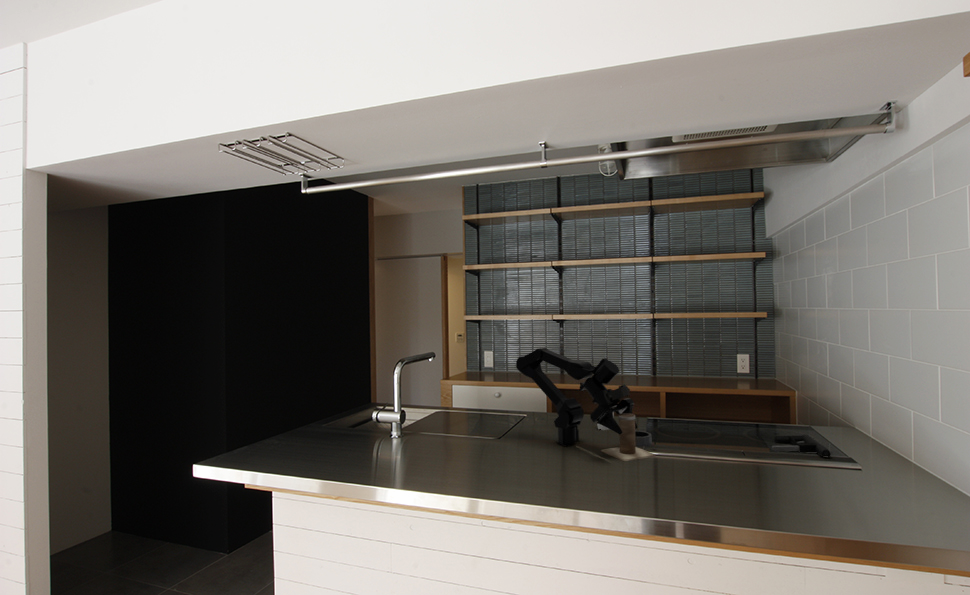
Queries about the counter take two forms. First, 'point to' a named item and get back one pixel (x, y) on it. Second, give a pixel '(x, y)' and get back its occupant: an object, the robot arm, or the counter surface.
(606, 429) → the shot glass
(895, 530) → the counter surface
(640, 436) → the cup
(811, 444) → the door handle
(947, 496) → the counter surface
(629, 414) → the tapered cup
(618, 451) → the beige cloth napkin
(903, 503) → the counter surface
